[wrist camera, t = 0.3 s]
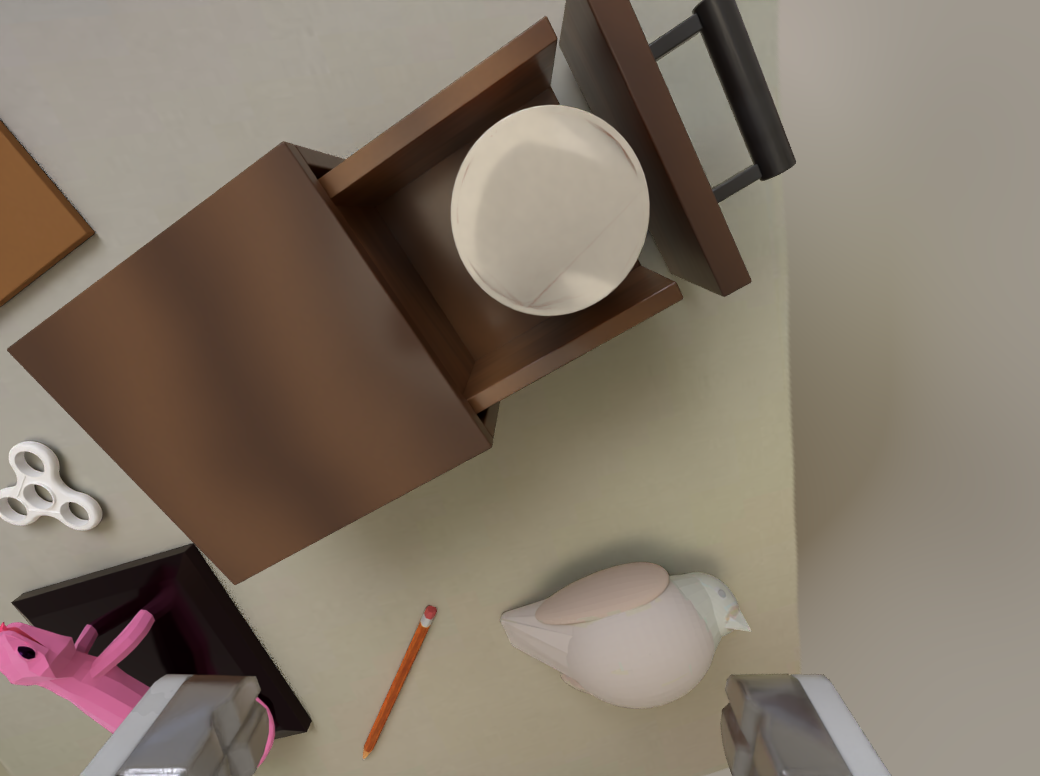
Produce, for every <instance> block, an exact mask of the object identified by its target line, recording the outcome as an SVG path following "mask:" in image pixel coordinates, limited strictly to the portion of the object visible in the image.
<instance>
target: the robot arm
mask: <svg viewBox="0 0 1040 776" xmlns="http://www.w3.org/2000/svg"><path fill="white" fill-rule="evenodd" d="M260 691H261V689H260V686H259V683H258V681H257V678H256V676H226V675H188V674H166V675H165V676H163V677H162V678H160V679H159V680H157V681H156V682H155V683H154V684H153V685H152V686H151V687H150V688H149V690H148V691H147V692H146V693H145V695H144V696H143V697H142V698H141V700H140V701H139V702H138V703H137V705H136V706H135V707H134V708H133V710H132V711H131V712H130V713H129V715H128V716H127V717H126V718H125V720H124V721H123V722H122V723H121V724H120V726H119V727H118V728H117V729H116V731H115V732H114V733H113V734H112V736H111V737H110V738H109V739H108V741H107V742H106V743H105V744H104V746H103V747H102V748H101V749H100V751H99V752H98V753H97V754H96V755H95V757H94V758H93V759H92V760H91V762H90V763H89V764H88V765H87V767H86V768H85V769H84V770H83V772H82V773H81V774H80V775H79V776H252V775H253V774H254V773H255V771H256V769H257V767H258V765H259V763H260V760H261V758H262V756H263V754H264V751H265V747H266V743H267V739H268V735H269V717H268V713H267V709H266V708H265V707H264V706H262V705H261V704H260V703H259V702H258V701H256V698H257V696H258V695H259V693H260ZM725 691H726V694H727V696H728V699H729V702H730V703H729V704H728V705H727V706H725V707H724V708H723V709H722V715H721V724H720V725H721V735H722V743H723V747H724V751H725V756H726V759H727V762H728V765H729V768H730V771H731V774H732V776H891V774H890V773H889V771H888V770H887V768H886V766H885V765H884V763H883V762H882V760H881V759H880V757H879V756H878V754H877V752H876V751H875V749H874V748H873V746H872V745H871V743H870V742H869V740H868V739H867V737H866V735H865V734H864V732H863V731H862V729H861V728H860V726H859V724H858V723H857V721H856V720H855V718H854V717H853V715H852V714H851V712H850V710H849V709H848V707H847V706H846V705H845V703H844V701H843V700H842V698H841V697H840V695H839V693H838V692H837V690H836V689H835V687H834V686H833V684H832V683H831V681H830V680H829V679H828V678H827V677H825V676H824V675H821V674H820V675H819V674H809V675H808V674H793V675H789V674H740V675H730V676H729V678H728V679H727V683H726V688H725Z"/></svg>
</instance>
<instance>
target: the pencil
mask: <svg viewBox="0 0 1040 776" xmlns="http://www.w3.org/2000/svg"><path fill="white" fill-rule="evenodd" d="M436 612H437V609H436V607H433V606H430V605H429V606H428V607H427V608H426V610H425V612H424V615H423V617H422V619H421V621H420V623H419V626H418V628H417V630H416V632H415V634H414V637H413V639H412V641H411V643H410V646H409V648H408V650H407V652H406V654H405V657H404V659H403V661H402V663H401V666H400V668H399V670H398V672H397V674H396V677H395V679H394V681H393V683H392V685H391V688H390V690H389V692H388V694H387V697H386V699H385V701H384V703H383V705H382V708H381V710H380V712H379V714H378V717H377V719H376V721H375V723H374V725H373V728H372V730H371V732H370V734H369V736H368V739H367V741H366V743H365V745H364V751H363V760H364V759H365V758H366V757H367V756H368V754H369V753H370V752H371V751H372V750H373V748H374V746H375V744H376V742H377V740H378V738H379V735H380V733H381V731H382V729H383V727H384V725H385V722H386V720H387V718H388V716H389V714H390V712H391V710H392V707H393V705H394V703H395V701H396V699H397V697H398V694H399V692H400V690H401V688H402V686H403V684H404V681H405V679H406V677H407V675H408V673H409V671H410V668H411V666H412V664H413V662H414V660H415V658H416V655H417V653H418V651H419V649H420V647H421V645H422V642H423V640H424V638H425V636H426V634H427V632H428V629H429V627H430V625H431V623H432V621H433V619H434V616H435V614H436Z"/></svg>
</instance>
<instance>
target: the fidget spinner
mask: <svg viewBox="0 0 1040 776" xmlns="http://www.w3.org/2000/svg"><path fill="white" fill-rule="evenodd" d="M25 451H27V452H31V453H33V454H35V455H37V456H38V457H39V458H40V459H41V460H42V462H43V464H44V467H45V470H44V472H39V471H37V470H34V469H33V468H31V467H30V466H29V465H28V464H27V462H26V460H25V458H24V453H25ZM9 462H10V465H11V467H12V468H13V470H14V471H15V473H16V475H17V484H16V485H15V486H14V487H7V488H4V489H2V490H0V517H1V518H2V519H3V520H5V521H6V522H8V523H11V524H13V525H18V526H25V525H29V524H31V523H33V522H35V521H36V520H38V519H39V517H40V516H44V515H46V516H51V517H54V518H56V519H58V520H60V521H61V522H62V523H63V524H65V525H66V526H68V527H70V528H72V529H75V530H81V531H85V530H90V529H92V528H94V527H95V526H97V525H98V524H99V523H100V521H101V520H102V509H101V507H100V505H99V504H98V502H97V501H96V500H95V499H93V498H92V497H91V496H89V495H87V494H85V493H81V492H77V491H75V490H73V489H71V488H69V487H68V486H67V485H66V484H65V483H64V482H63V481H62V479H61V477H60V474H59V461H58V458H57V456H56V455H55V453H54V452H53V451H52V450H51V449H50V448H48V447H47V446H45V445H43V444H41V443H39V442H34V441H25V442H21V443H19V444H17V445H15V446H14V447H13V448H12V449H11V450H10V452H9ZM35 484H36V485H40V486H42V487H44V488H45V489H47V490H48V491H49V492H50V494H51V495H52V498H53V502H48V501H45V500H44V499H42V498H41V497H40V496H39V495H38V494H37V493H36V491H35V487H34V486H35ZM8 497H12V498H15V499H17V500H19V501H20V502H21V503H22V504H23V505H24V506H25V508H26V510H27V515H21V514H19V513H17V512H15V511H14V510H13V509H12V508H11V507H10V505H9V503H8ZM69 502H74V503H77V504H79V505H81V506H82V507H84V508H85V509H86V511H87V512H88V515H89V520H82V519H79V518H78V517H76V516H75V515H74V514H73V513H72V512H71V511H70V509H69Z"/></svg>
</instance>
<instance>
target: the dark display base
mask: <svg viewBox="0 0 1040 776" xmlns="http://www.w3.org/2000/svg"><path fill="white" fill-rule="evenodd" d="M11 603H12V604H13V605H14V607H15V608H16V609H17V610H18V611H19V612H20V614H21V615H22V616H23V617H24V618H25V619H26V621H27V622H28V623H29V624H30V625H31V626H30V625H27V624H24V623H19V622H16V623H11V624H9V625H7V626H5V625H4V622H3V623H2V624H1V626H0V671H1V672H2V673H3V674H4V675H5V676H6V677H7V678H8V680H9V681H10V683H11V684H17V685H26V686H29V685H39V686H41V687H44V688H46V689H49V690H50V691H52V692H54V693H56V694H57V695H59V696H61V697H63V698H65V699H67V700H69V701H71V702H72V703H73V704H74V705H75V706H77V707H78V708H79V709H80V710H81V711H83V712H84V713H85V714H87V715H88V716H89V717H91V718H92V719H93V720H95V721H96V722H98V723H99V724H100V725H102V726H103V727H104V728H106V729H107V730H108V731H110V732H111V733H112V734H113V733H114V732H115V731H116V729H117V728H118V727H119V726H120V724H121V723H122V722H123V721H124V720H125V718H126V717H127V716H128V715H129V713H130V712H131V711H132V710H133V708H134V707H135V706H136V705H137V703H138V702H139V701H140V700H141V698H142V697H143V696H144V695H145V693H146V692H147V691H148V690H149V688H150V687H151V686H152V685H153V684H154V683H155V682H156V681H157V680H159V679H160V678H162V677H163V676H165V675H166V674H188V675H226V676H256V678H257V681H258V683H259V686H260V689H261V691H260V693H259V695H258V696H257V698H256V701H258V702H259V703H260V704H261V705H262V706H264V707H265V708H266V709H267V713H268V717H269V735H268V739H267V743H266V747H265V751H264V754H263V756H262V758H261V760H260V763H259V765H258V767H259V766H260V765H261V764H262V763H263V761H264V760H265V758H266V756H267V755H268V753H269V751H270V750H271V748H272V745H273V741H274V739H278V738H282V737H287V736H291V735H295V734H300V733H304V732H307V730H308V728H309V726H310V723H311V719H310V718H309V716H308V715H307V713H306V712H305V710H304V709H303V707H302V706H301V704H300V703H299V701H298V700H297V698H296V697H295V695H294V694H293V692H292V691H291V689H290V688H289V686H288V685H287V683H286V682H285V680H284V679H283V677H282V676H281V674H280V673H279V671H278V670H277V668H276V667H275V665H274V664H273V662H272V661H271V659H270V658H269V656H268V655H267V653H266V652H265V650H264V649H263V647H262V646H261V644H260V643H259V641H258V640H257V638H256V637H255V635H254V634H253V632H252V631H251V629H250V628H249V626H248V625H247V623H246V622H245V620H244V619H243V617H242V616H241V614H240V613H239V611H238V610H237V608H236V607H235V605H234V604H233V602H232V601H231V599H230V598H229V596H228V595H227V593H226V592H225V590H224V589H223V587H222V586H221V584H220V583H219V581H218V580H217V578H216V577H215V575H214V574H213V572H212V571H211V569H210V568H209V566H208V565H207V563H206V562H205V560H204V559H203V557H202V556H201V554H200V553H199V551H198V550H197V548H196V547H195V545H194V544H189V545H186V546H183V547H179V548H176V549H172V550H169V551H166V552H162V553H159V554H155V555H152V556H149V557H145V558H142V559H138V560H135V561H132V562H128V563H125V564H121V565H118V566H115V567H111V568H108V569H104V570H101V571H98V572H94V573H91V574H87V575H84V576H81V577H77V578H74V579H70V580H67V581H64V582H60V583H57V584H53V585H50V586H47V587H43V588H40V589H36V590H33V591H30V592H26V593H23V594H22V595H21V596H19V597H18V598H17V599H15V600H14V601H13V602H11ZM258 767H257V768H258Z"/></svg>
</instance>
